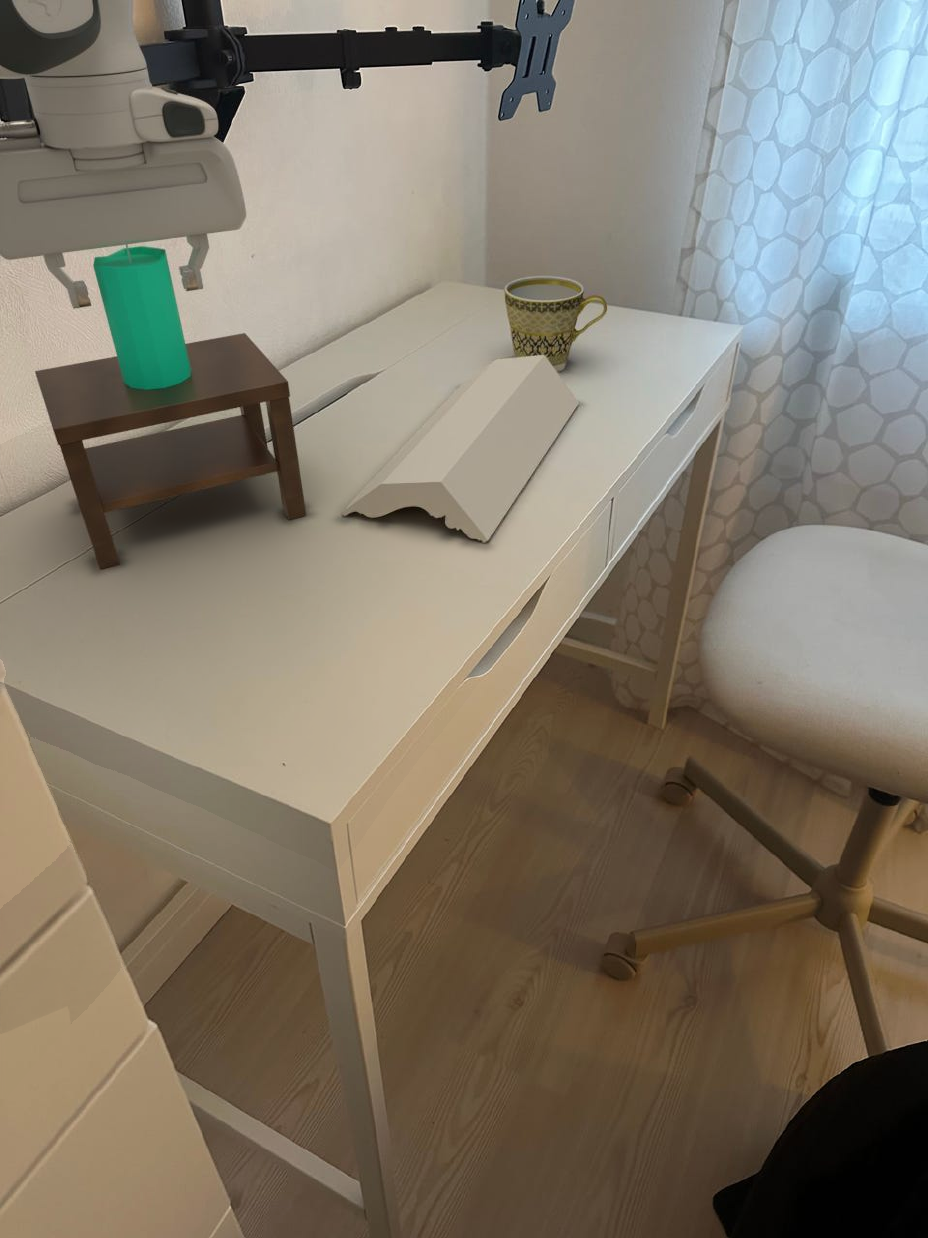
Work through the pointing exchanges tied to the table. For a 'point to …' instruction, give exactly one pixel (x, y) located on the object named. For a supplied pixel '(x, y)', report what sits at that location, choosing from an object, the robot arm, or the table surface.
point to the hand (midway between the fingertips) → (138, 297)
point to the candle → (143, 317)
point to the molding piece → (476, 448)
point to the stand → (171, 432)
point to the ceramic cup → (546, 316)
